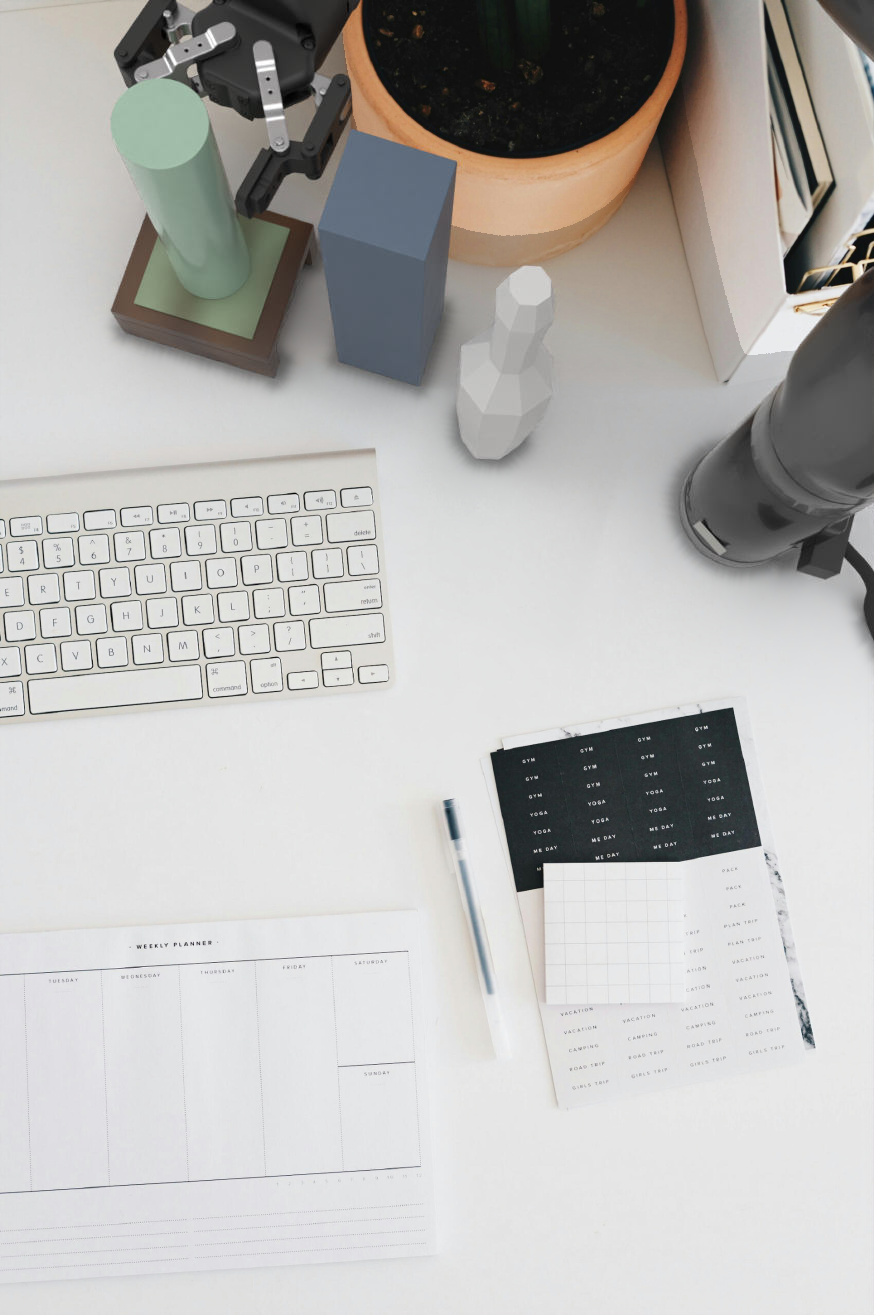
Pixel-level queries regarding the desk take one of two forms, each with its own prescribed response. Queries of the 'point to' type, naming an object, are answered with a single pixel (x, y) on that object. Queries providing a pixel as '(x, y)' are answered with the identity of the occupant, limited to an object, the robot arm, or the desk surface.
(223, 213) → the mint green cylinder
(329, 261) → the plinth
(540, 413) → the faceted bottle
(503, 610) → the desk surface
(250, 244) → the brown green square block
